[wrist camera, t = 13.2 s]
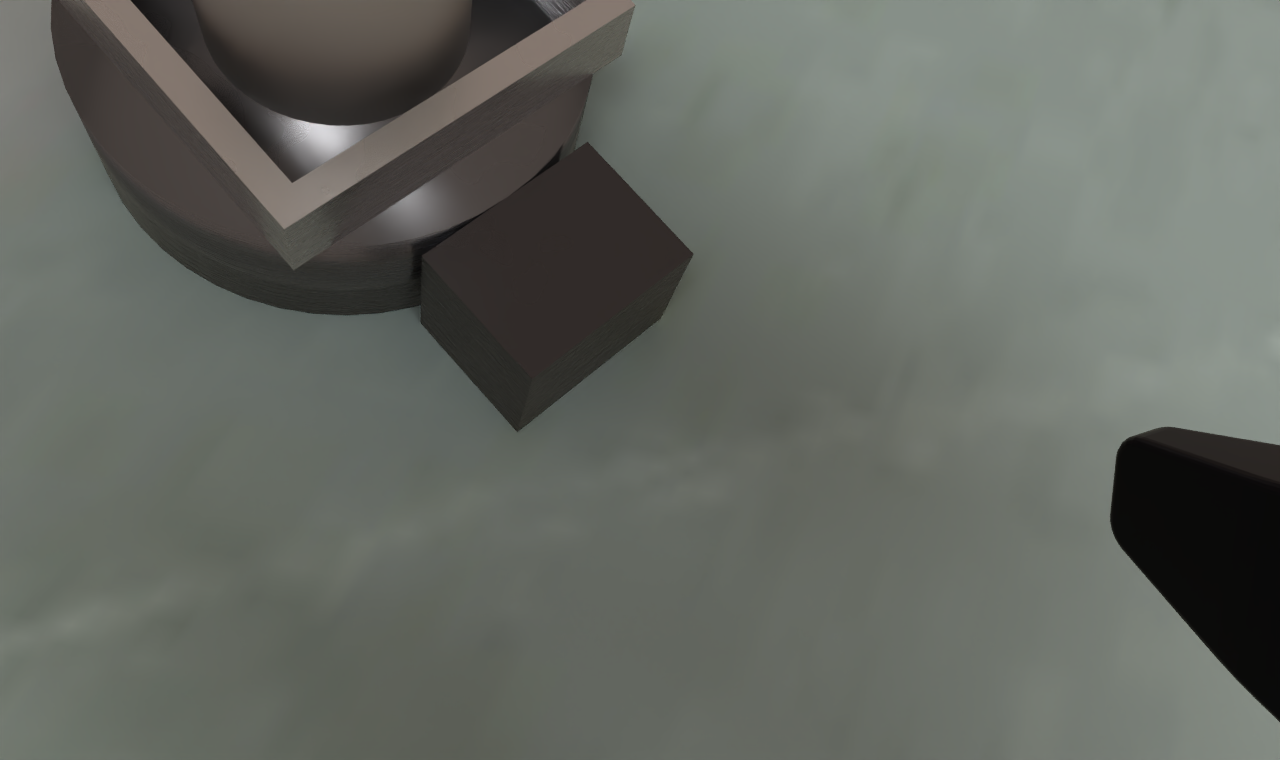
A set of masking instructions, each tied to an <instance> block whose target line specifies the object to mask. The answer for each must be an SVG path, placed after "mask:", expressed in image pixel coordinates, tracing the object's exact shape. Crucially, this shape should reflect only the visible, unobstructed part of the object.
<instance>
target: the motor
mask: <svg viewBox="0 0 1280 760" xmlns="http://www.w3.org/2000/svg"><path fill="white" fill-rule="evenodd" d="M634 8H635V4H634V3H633V2H632V1H631V0H472V10H471V25H470V35H469V41H468V45H467V49H466V52H465V55H464V57H463V59H462V61H461V64H460V66H459V67H458V69H457V70H456V72H455V73H454V75H453V76H452V78H451V79H450V80H449V81H448V82H447V83H446V85H445V86H444V87H443V88H442V89H441V90H440V91H439V92H437V93H436V94H435V95H433V96H432V97H430V98H428V99H427V100H425V101H424V102H422V103H420V104H419V105H417V106H416V107H414V108H412V109H411V110H409V111H408V112H406V113H404V114H402V115H399V116H396V117H393V118H390V119H387V120H384V121H379V122H374V123H369V124H362V125H351V126H333V125H323V124H315V123H309V122H305V121H301V120H296V119H293V118H290V117H287V116H284V115H282V114H279V113H276V112H274V111H272V110H270V109H268V108H266V107H264V106H262V105H260V104H258V103H257V102H255V101H254V100H252V99H251V98H249V97H248V96H246V95H245V94H244V93H242V92H241V91H240V90H239V89H238V88H236V87H235V86H234V85H233V84H232V83H231V82H230V81H229V80H228V79H227V78H226V77H225V75H224V74H223V73H222V72H221V71H220V69H219V68H218V66H217V65H216V64H215V62H214V61H213V59H212V57H211V55H210V53H209V51H208V49H207V47H206V45H205V42H204V39H203V35H202V32H201V29H200V25H199V22H198V18H197V15H196V11H195V8H194V4H193V1H192V0H52V6H51V31H52V38H53V44H54V51H55V57H56V61H57V64H58V67H59V70H60V73H61V76H62V79H63V82H64V85H65V88H66V90H67V92H68V94H69V96H70V98H71V100H72V102H73V104H74V106H75V108H76V110H77V112H78V114H79V116H80V118H81V120H82V122H83V125H84V127H85V129H86V131H87V133H88V135H89V137H90V139H91V141H92V143H93V145H94V147H95V149H96V151H97V153H98V155H99V157H100V159H101V161H102V163H103V165H104V167H105V169H106V171H107V173H108V175H109V177H110V179H111V181H112V183H113V185H114V187H115V189H116V191H117V193H118V194H119V196H120V198H121V200H122V202H123V204H124V205H125V206H126V208H127V209H128V210H129V212H130V213H131V215H132V216H133V217H134V219H135V220H136V221H137V223H138V224H139V225H140V227H141V228H142V229H143V230H144V231H145V232H146V233H147V234H148V235H149V236H150V237H151V238H152V239H153V240H154V241H155V242H156V243H157V244H158V245H159V246H160V247H161V248H162V249H163V250H164V251H165V252H167V253H168V254H169V255H171V256H172V257H173V258H175V259H176V260H177V261H178V262H180V263H181V264H182V265H184V266H185V267H186V268H187V269H189V270H191V271H193V272H194V273H196V274H198V275H199V276H201V277H203V278H204V279H206V280H208V281H210V282H211V283H213V284H215V285H217V286H219V287H221V288H224V289H226V290H228V291H231V292H233V293H235V294H238V295H240V296H242V297H245V298H247V299H251V300H254V301H257V302H261V303H264V304H268V305H271V306H275V307H278V308H283V309H289V310H295V311H301V312H307V313H313V314H333V315H357V314H372V313H382V312H388V311H393V310H399V309H404V308H409V307H414V306H417V305H420V304H421V324H422V325H423V326H424V327H425V328H426V329H427V330H428V332H429V333H430V334H431V335H432V336H433V337H434V338H435V339H436V341H437V342H438V343H439V344H440V345H441V346H442V347H443V348H444V350H445V351H446V352H447V353H448V354H449V355H450V356H451V358H452V359H453V360H454V361H455V362H456V363H457V364H458V365H459V367H460V368H461V369H462V370H463V371H464V372H465V373H466V374H467V376H468V377H469V378H470V379H471V380H472V381H473V382H474V384H475V385H476V386H477V387H478V388H479V389H480V390H481V391H482V393H483V394H484V395H485V396H486V397H487V398H488V399H489V400H490V402H491V403H492V404H493V405H494V406H495V407H496V408H497V409H498V411H499V412H500V413H501V414H502V415H503V416H504V417H505V419H506V420H507V421H508V422H509V423H510V424H511V425H512V426H513V428H514V429H515V430H516V431H517V432H518V431H519V430H520V429H522V428H523V427H524V426H525V425H527V424H528V423H529V422H530V421H532V420H533V419H534V418H535V417H537V416H538V415H539V414H541V413H542V412H543V411H544V410H546V409H547V408H548V407H549V406H551V405H552V404H553V403H554V402H556V401H557V400H558V399H559V398H561V397H562V396H563V395H564V394H566V393H567V392H568V391H569V390H571V389H572V388H573V387H574V386H576V385H577V384H578V383H580V382H581V381H582V380H583V379H585V378H586V377H587V376H588V375H590V374H591V373H592V372H593V371H595V370H596V369H597V368H598V367H600V366H601V365H602V364H603V363H605V362H606V361H607V360H608V359H610V358H611V357H612V356H614V355H615V354H616V353H617V352H619V351H620V350H621V349H622V348H624V347H625V346H626V345H627V344H629V343H630V342H631V341H632V340H634V339H635V338H636V337H637V336H639V335H640V334H641V333H642V332H644V331H645V330H646V329H647V328H649V327H650V326H651V325H653V324H654V323H655V322H656V321H658V320H659V319H660V318H661V316H662V314H663V312H664V310H665V308H666V307H667V305H668V303H669V301H670V299H671V297H672V295H673V293H674V291H675V289H676V287H677V285H678V283H679V281H680V279H681V277H682V275H683V274H684V272H685V270H686V268H687V266H688V264H689V262H690V260H691V258H692V256H693V253H692V252H691V251H690V250H689V249H688V248H687V247H686V246H685V245H684V243H683V242H682V241H681V240H680V239H679V238H678V237H677V236H676V235H675V234H674V233H673V232H672V231H671V230H670V229H669V228H668V227H667V225H666V224H665V223H664V222H663V221H662V220H661V219H660V218H659V217H658V216H657V215H656V214H655V213H654V212H653V211H652V210H651V209H650V207H649V206H648V205H647V204H646V203H645V202H644V201H643V200H642V199H641V198H640V197H639V196H638V195H637V194H636V193H635V192H634V191H633V189H632V188H631V187H630V186H629V185H628V184H627V183H626V182H625V181H624V180H623V179H622V178H621V177H620V176H619V175H618V174H617V173H616V171H615V170H614V169H613V168H612V167H611V166H610V165H609V164H608V163H607V162H606V161H605V160H604V159H603V158H602V157H601V156H600V155H599V154H598V152H597V151H596V150H595V149H594V148H593V147H592V146H591V145H590V144H589V143H588V142H587V143H585V144H584V145H583V146H581V147H580V148H578V149H577V150H575V151H574V149H575V145H576V141H577V137H578V133H579V129H580V125H581V121H582V117H583V113H584V109H585V105H586V101H587V96H588V92H589V88H590V84H591V80H592V75H593V73H595V72H596V71H598V70H599V69H601V68H602V67H604V66H605V65H607V64H609V63H610V62H612V61H613V60H615V59H616V58H618V57H619V56H621V55H622V51H623V48H624V44H625V40H626V37H627V33H628V30H629V26H630V23H631V19H632V15H633V12H634Z"/></svg>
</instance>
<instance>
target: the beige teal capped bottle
mask: <svg viewBox="0 0 1280 760" xmlns="http://www.w3.org/2000/svg"><path fill="white" fill-rule="evenodd" d="M192 1H193V4H194V8H195V11H196V15H197V18H198V22H199V25H200V29H201V32H202V35H203V39H204V42H205V45H206V47H207V49H208V51H209V53H210V55H211V57H212V59H213V61H214V62H215V64H216V65H217V66H218V68H219V69H220V71H221V72H222V73H223V74H224V75H225V77H226V78H227V79H228V80H229V81H230V82H231V83H232V84H233V85H234V86H235V87H236V88H238V89H239V90H240V91H241V92H242V93H244V94H245V95H246V96H248V97H249V98H251V99H252V100H254V101H255V102H257V103H258V104H260V105H262V106H264V107H266V108H268V109H270V110H272V111H274V112H276V113H279V114H282V115H284V116H287V117H290V118H293V119H296V120H301V121H305V122H309V123H315V124H323V125H333V126H351V125H362V124H369V123H374V122H379V121H384V120H387V119H390V118H393V117H396V116H399V115H402V114H404V113H406V112H408V111H409V110H411V109H412V108H414V107H416V106H417V105H419V104H420V103H422V102H424V101H425V100H427V99H428V98H430V97H432V96H433V95H435V94H436V93H437V92H439V91H440V90H441V89H442V88H443V87H444V86H445V85H446V83H447V82H448V81H449V80H450V79H451V78H452V76H453V75H454V73H455V72H456V70H457V69H458V67H459V66H460V64H461V61H462V59H463V57H464V55H465V52H466V49H467V45H468V41H469V35H470V25H471V10H472V0H192Z"/></svg>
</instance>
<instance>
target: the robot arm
mask: <svg viewBox="0 0 1280 760" xmlns="http://www.w3.org/2000/svg"><path fill="white" fill-rule="evenodd" d="M1110 522H1111V528H1112V531H1113V534H1114V537H1115V539H1116V540H1117V542H1118V544H1119V545H1120V547H1121V548H1122V549H1123V551H1124V552H1125V553H1126V554H1127V555H1128V556H1129V558H1130V559H1131V560H1132V561H1133V562H1134V563H1135V564H1136V566H1137V567H1138V568H1139V569H1140V570H1141V571H1142V572H1143V574H1144V575H1145V576H1146V577H1147V578H1148V579H1149V581H1150V582H1151V583H1152V584H1153V585H1154V586H1155V587H1156V589H1157V590H1158V591H1159V592H1160V593H1161V594H1162V596H1163V597H1164V598H1165V599H1166V600H1167V601H1168V602H1169V604H1170V605H1171V606H1172V607H1173V608H1174V609H1175V610H1176V612H1177V613H1178V614H1179V615H1180V616H1181V617H1182V619H1183V620H1184V621H1185V622H1186V623H1187V624H1188V625H1189V627H1190V628H1191V629H1192V630H1193V631H1194V632H1195V634H1196V635H1197V636H1198V637H1199V638H1200V639H1201V640H1202V642H1203V643H1204V644H1205V645H1206V646H1207V647H1208V648H1209V650H1210V651H1211V652H1212V653H1213V654H1214V655H1215V657H1216V658H1217V659H1218V660H1219V661H1220V662H1221V663H1222V664H1223V665H1224V666H1225V668H1226V669H1227V670H1228V671H1229V672H1230V673H1231V674H1232V675H1233V676H1234V677H1235V678H1236V680H1237V681H1238V682H1239V683H1240V684H1241V685H1242V686H1243V687H1244V688H1245V689H1246V690H1247V691H1248V692H1249V693H1250V694H1251V695H1252V696H1253V697H1254V698H1255V699H1256V700H1257V701H1258V702H1259V703H1261V704H1262V705H1263V706H1264V707H1265V708H1266V709H1267V710H1268V711H1269V712H1270V713H1271V714H1272V715H1273V716H1274V717H1275V718H1276V719H1277V720H1278V721H1279V722H1280V445H1275V444H1269V443H1263V442H1257V441H1251V440H1246V439H1240V438H1234V437H1228V436H1222V435H1216V434H1210V433H1204V432H1198V431H1193V430H1187V429H1181V428H1175V427H1161V428H1157V429H1153V430H1150V431H1147V432H1144V433H1141V434H1138V435H1135V436H1132V437H1129V438H1128V439H1126V440H1125V441H1124V442H1122V444H1121V446H1120V448H1119V449H1118V451H1117V456H1116V464H1115V474H1114V483H1113V493H1112V503H1111V513H1110Z"/></svg>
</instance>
